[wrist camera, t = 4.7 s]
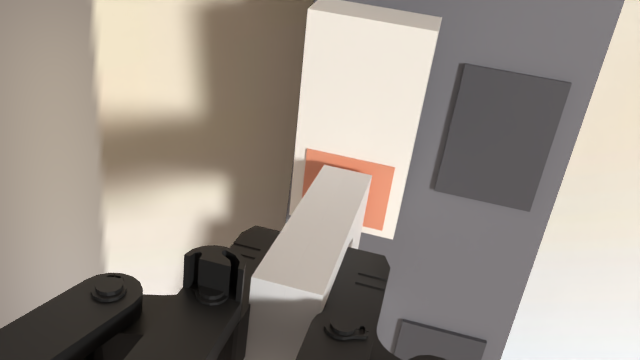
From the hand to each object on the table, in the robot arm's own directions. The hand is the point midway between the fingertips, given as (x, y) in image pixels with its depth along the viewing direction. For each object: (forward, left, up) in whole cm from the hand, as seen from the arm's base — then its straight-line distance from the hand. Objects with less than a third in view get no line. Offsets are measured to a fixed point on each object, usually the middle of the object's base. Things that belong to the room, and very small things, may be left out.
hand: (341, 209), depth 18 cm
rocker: (-2, 0, -1) cm, 3 cm away
